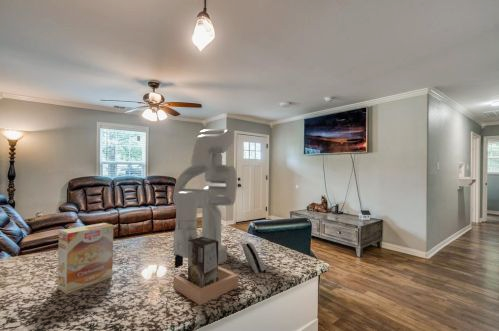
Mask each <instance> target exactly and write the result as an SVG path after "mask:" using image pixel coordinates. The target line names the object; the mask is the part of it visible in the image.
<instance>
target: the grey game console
mask: <svg viewBox="0 0 499 331" xmlns="http://www.w3.org/2000/svg"><path fill="white" fill-rule="evenodd" d="M242 250H243V253H244V256H245V259H246V261H247V263H248V264H249V266H250V267H251V269H252V270H253V272H254V273H255V274H259V273H260V272H264V271H265V272H266V273H268V272H269V271H268V269H267V267H266V266H265V264H264V263H263V262H262V260H261V257H260V255H259V253H258V251H257V249H256V247H255V246H254V244H253V243H252V242H247V243H246V244H245V243H244V244H243V245H242Z"/></svg>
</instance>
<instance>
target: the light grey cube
mask: <svg viewBox="0 0 499 331" xmlns="http://www.w3.org/2000/svg"><path fill="white" fill-rule="evenodd" d="M227 255H228V247H227V246H224V245H223V246H221V245H218V265H219V264H222V263H225V262H227V261H228V260H227V259H228V258H227V257H228V256H227Z"/></svg>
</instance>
